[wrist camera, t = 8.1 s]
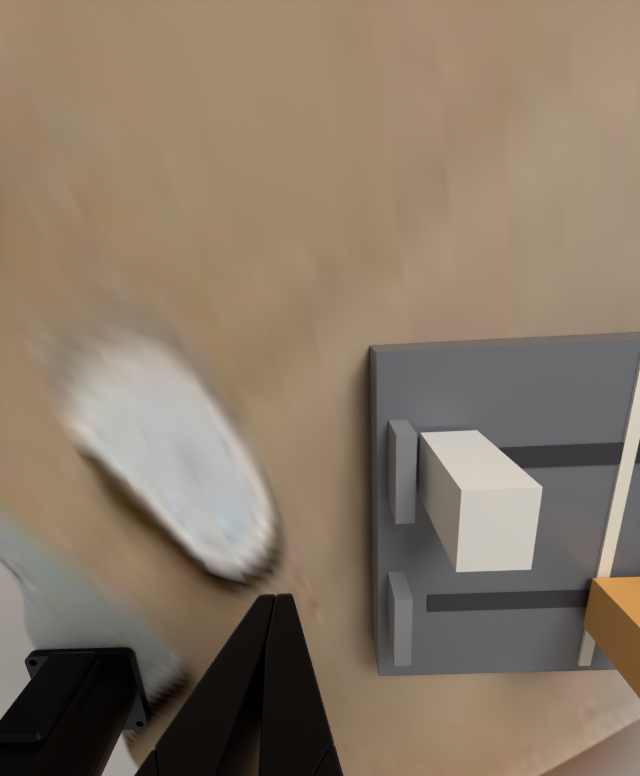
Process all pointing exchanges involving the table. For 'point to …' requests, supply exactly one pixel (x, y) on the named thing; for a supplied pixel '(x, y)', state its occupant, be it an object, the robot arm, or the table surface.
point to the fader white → (478, 502)
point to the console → (541, 462)
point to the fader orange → (617, 624)
